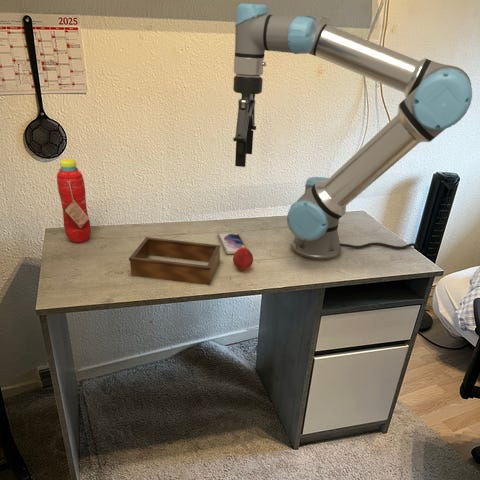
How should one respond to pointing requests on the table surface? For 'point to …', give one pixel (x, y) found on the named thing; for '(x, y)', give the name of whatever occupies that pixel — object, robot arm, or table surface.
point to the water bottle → (73, 201)
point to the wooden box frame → (175, 269)
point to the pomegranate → (243, 258)
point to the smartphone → (230, 242)
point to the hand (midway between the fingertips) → (243, 159)
